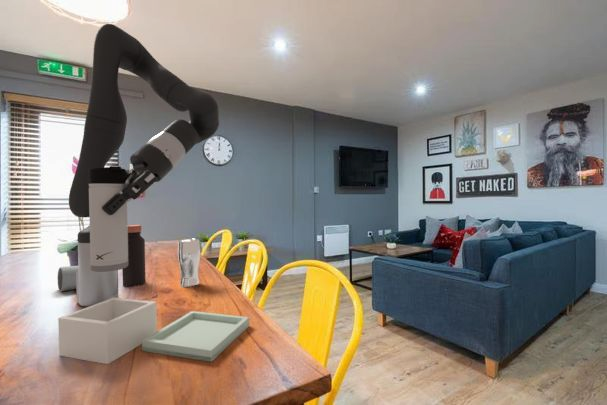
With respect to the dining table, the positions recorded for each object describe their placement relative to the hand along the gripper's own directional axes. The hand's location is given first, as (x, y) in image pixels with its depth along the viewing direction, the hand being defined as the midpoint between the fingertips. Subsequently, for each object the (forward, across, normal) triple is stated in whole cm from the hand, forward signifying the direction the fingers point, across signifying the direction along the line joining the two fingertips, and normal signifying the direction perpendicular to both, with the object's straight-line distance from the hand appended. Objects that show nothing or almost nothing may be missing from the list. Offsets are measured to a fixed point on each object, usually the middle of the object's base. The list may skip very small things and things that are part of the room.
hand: (99, 211), depth 57 cm
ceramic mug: (+13, -53, +26) cm, 60 cm away
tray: (+9, +12, +28) cm, 32 cm away
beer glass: (-5, -24, +43) cm, 50 cm away
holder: (+18, 0, +20) cm, 27 cm away
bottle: (+3, -41, +35) cm, 54 cm away
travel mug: (+7, 0, +9) cm, 12 cm away
